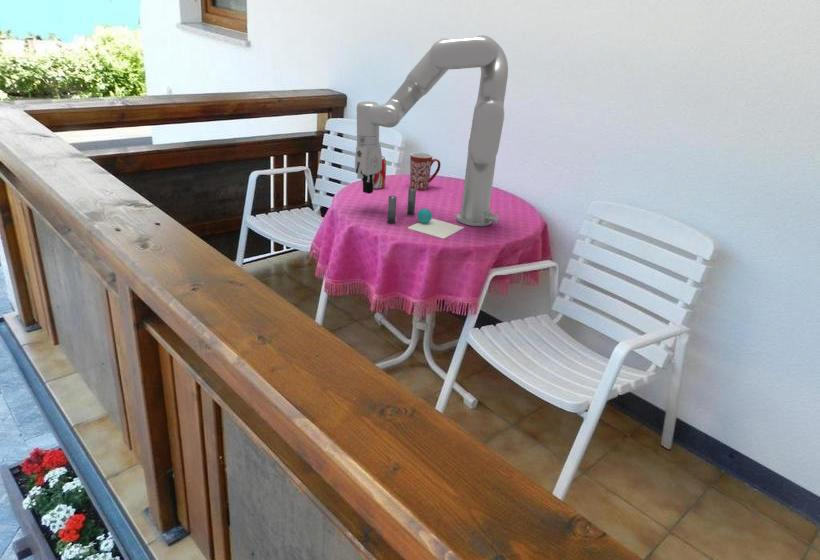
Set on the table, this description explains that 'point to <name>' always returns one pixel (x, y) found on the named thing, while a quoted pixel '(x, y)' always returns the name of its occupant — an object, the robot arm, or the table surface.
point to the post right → (411, 201)
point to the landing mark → (436, 228)
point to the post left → (391, 209)
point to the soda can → (380, 176)
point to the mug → (421, 170)
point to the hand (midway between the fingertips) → (367, 192)
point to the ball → (424, 215)
